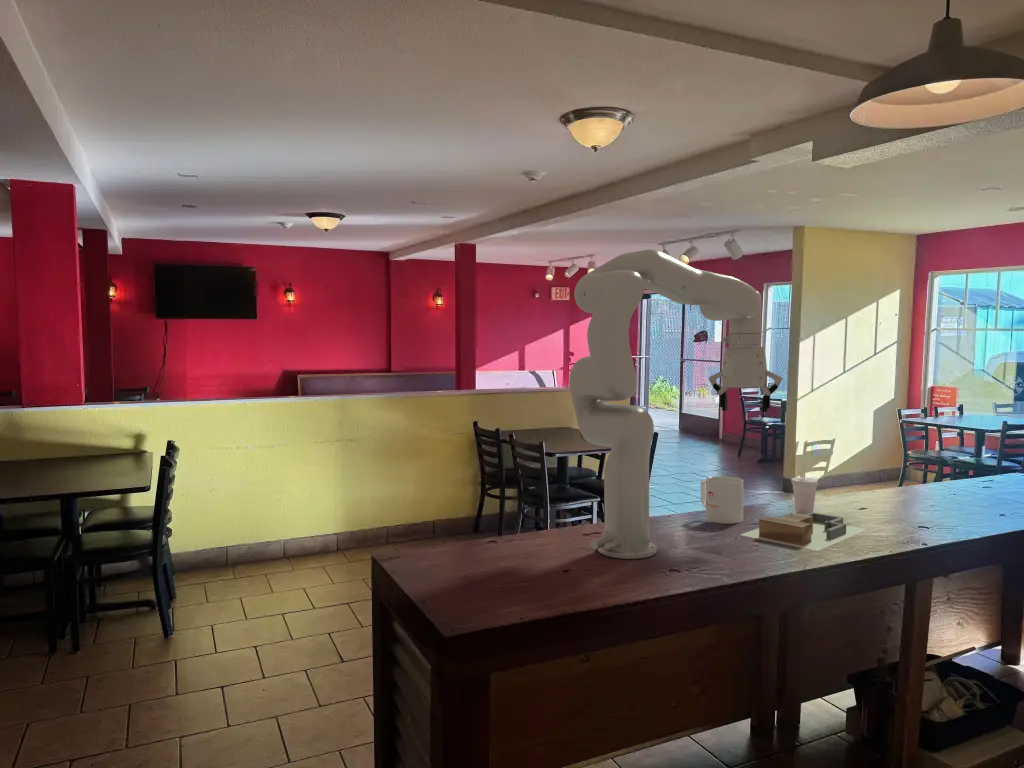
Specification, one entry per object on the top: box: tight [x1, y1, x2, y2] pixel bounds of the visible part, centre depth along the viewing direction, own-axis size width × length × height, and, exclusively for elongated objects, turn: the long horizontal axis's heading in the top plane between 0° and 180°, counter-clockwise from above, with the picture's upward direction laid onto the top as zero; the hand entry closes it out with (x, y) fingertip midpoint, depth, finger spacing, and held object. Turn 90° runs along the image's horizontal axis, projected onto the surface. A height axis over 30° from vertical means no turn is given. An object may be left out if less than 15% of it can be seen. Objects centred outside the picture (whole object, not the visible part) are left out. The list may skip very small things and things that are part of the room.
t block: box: [758, 512, 813, 546], centre depth 158 cm, size 11×10×4 cm
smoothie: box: [790, 461, 819, 515], centre depth 180 cm, size 6×6×14 cm
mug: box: [700, 475, 744, 525], centre depth 176 cm, size 12×9×11 cm
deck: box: [739, 511, 869, 552], centre depth 162 cm, size 25×18×3 cm
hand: (744, 411), depth 174 cm, fingers open, 9 cm apart
